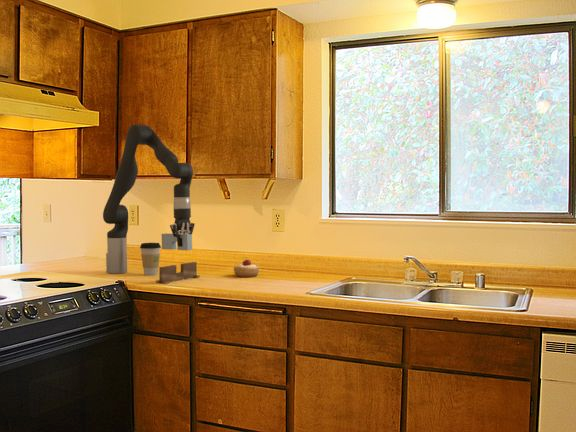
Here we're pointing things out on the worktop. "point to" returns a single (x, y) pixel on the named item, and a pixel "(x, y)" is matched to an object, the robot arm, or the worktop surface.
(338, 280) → the worktop surface
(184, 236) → the cross bar
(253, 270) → the pastry
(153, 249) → the coffee cup
